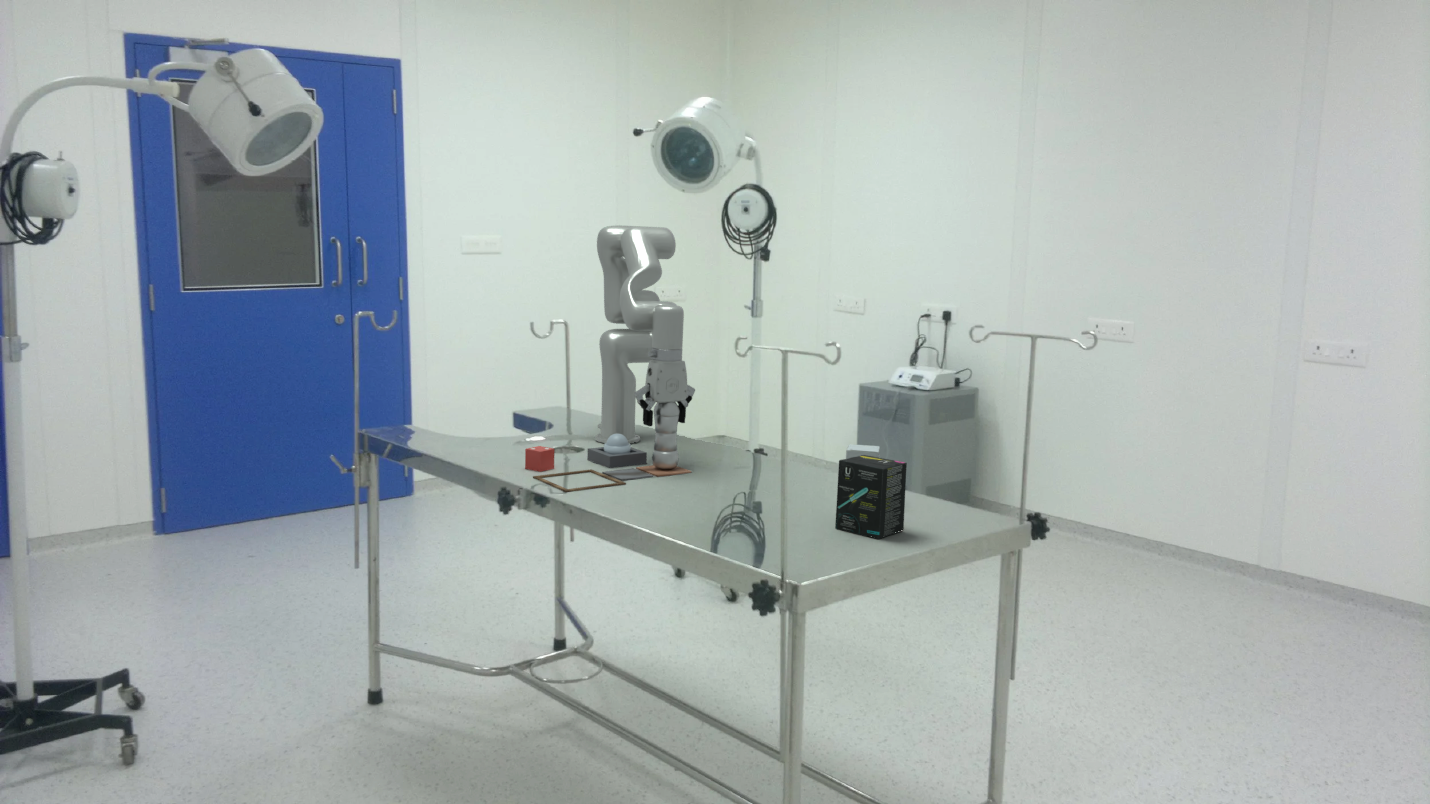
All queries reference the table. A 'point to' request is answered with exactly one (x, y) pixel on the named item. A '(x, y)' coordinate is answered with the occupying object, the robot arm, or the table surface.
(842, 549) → the table surface
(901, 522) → the tampon box
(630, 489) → the table surface
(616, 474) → the game track
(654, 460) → the plastic bottle
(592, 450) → the grey hollow frame
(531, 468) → the red die
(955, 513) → the table surface
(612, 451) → the dome
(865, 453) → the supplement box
